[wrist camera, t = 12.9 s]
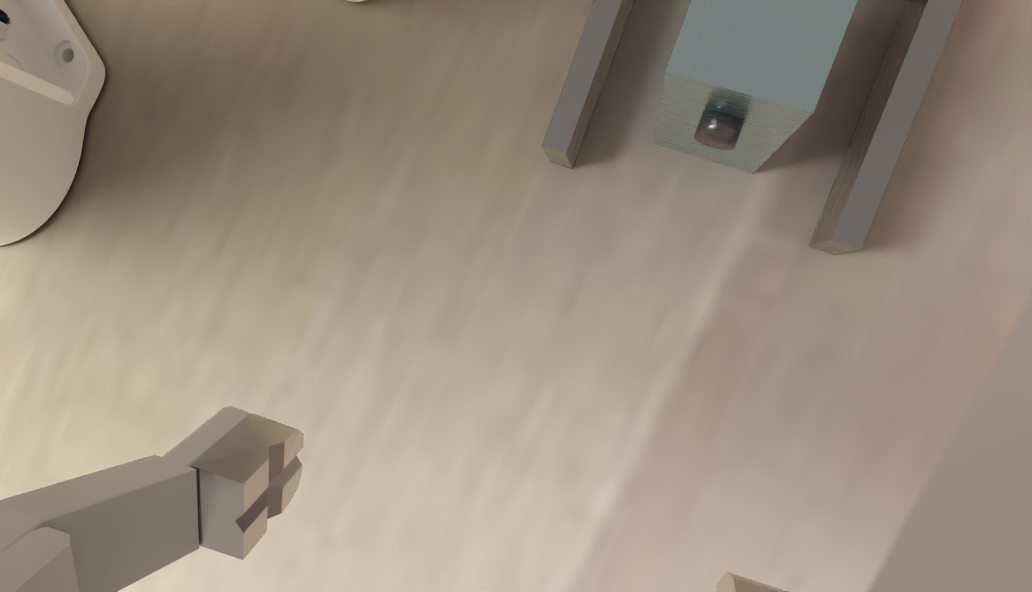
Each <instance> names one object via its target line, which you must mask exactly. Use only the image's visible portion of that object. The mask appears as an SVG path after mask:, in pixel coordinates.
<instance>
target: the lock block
mask: <svg viewBox="0 0 1032 592" xmlns="http://www.w3.org/2000/svg"><path fill="white" fill-rule="evenodd" d="M857 1H858V0H691V3H690V5H689V8H688V11H687V14H686V16H685V19H684V22H683V24H682V27H681V30H680V32H679V35H678V38H677V40H676V43H675V46H674V48H673V51H672V54H671V56H670V59H669V62H668V64H667V67H666V70H665V74H664V80H663V87H662V93H661V99H660V105H659V112H658V118H657V124H656V130H655V137H654V143H655V144H658V145H661V146H664V147H668V148H671V149H674V150H677V151H681V152H684V153H687V154H690V155H694V156H697V157H700V158H703V159H707V160H710V161H713V162H716V163H720V164H723V165H726V166H729V167H733V168H736V169H739V170H743V171H746V172H749V173H752V174H753V173H754V172H755V171H756V170H757V169H758V168H759V167H760V166H761V165H762V164H763V163H764V162H765V161H766V160H767V159H768V158H769V157H770V156H771V155H772V154H773V153H774V152H775V151H776V150H777V149H778V148H779V147H780V146H781V145H782V144H783V143H784V142H785V141H786V140H787V139H788V138H789V137H790V136H791V135H792V134H793V133H794V132H795V131H796V130H797V129H798V128H799V127H800V126H801V125H802V124H803V123H804V122H805V121H806V120H807V119H808V118H809V117H810V116H811V115H812V114H813V113H814V110H815V108H816V105H817V103H818V100H819V98H820V95H821V93H822V90H823V88H824V85H825V83H826V80H827V77H828V75H829V72H830V70H831V67H832V65H833V62H834V60H835V57H836V55H837V52H838V50H839V47H840V44H841V42H842V39H843V37H844V34H845V32H846V29H847V27H848V24H849V22H850V19H851V16H852V14H853V11H854V9H855V6H856V4H857Z"/></svg>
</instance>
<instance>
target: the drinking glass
mask: <svg viewBox="0 0 1032 592" xmlns="http://www.w3.org/2000/svg"><path fill="white" fill-rule="evenodd" d="M346 1H351V2H361V1H366V0H346Z"/></svg>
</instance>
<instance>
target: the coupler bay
mask: <svg viewBox="0 0 1032 592" xmlns="http://www.w3.org/2000/svg"><path fill="white" fill-rule="evenodd" d="M962 1H963V0H907V3H906V6H905V8H904V11H903V13H902V16H901V18H900V21H899V23H898V26H897V28H896V31H895V33H894V36H893V38H892V41H891V43H890V46H889V48H888V51H887V53H886V56H885V58H884V61H883V63H882V66H881V68H880V71H879V73H878V76H877V78H876V81H875V83H874V86H873V88H872V91H871V93H870V96H869V98H868V101H867V103H866V106H865V108H864V111H863V113H862V116H861V118H860V121H859V123H858V126H857V128H856V131H855V133H854V136H853V138H852V141H851V143H850V145H849V148H848V150H847V153H846V155H845V158H844V160H843V163H842V165H841V168H840V170H839V173H838V175H837V178H836V180H835V183H834V185H833V188H832V190H831V193H830V195H829V198H828V200H827V203H826V205H825V208H824V210H823V213H822V215H821V218H820V220H819V223H818V225H817V228H816V230H815V233H814V235H813V238H812V240H811V243H810V245H809V246H810V247H813V248H816V249H819V250H822V251H825V252H828V253H831V254H834V255H836V254H841V253H846V252H850V251H855V250H860V249H861V248H862V246H863V243H864V241H865V239H866V236H867V234H868V231H869V229H870V226H871V224H872V221H873V219H874V216H875V214H876V212H877V209H878V207H879V204H880V202H881V199H882V197H883V194H884V192H885V190H886V187H887V185H888V182H889V180H890V177H891V175H892V172H893V170H894V167H895V165H896V163H897V160H898V158H899V155H900V153H901V150H902V148H903V145H904V143H905V140H906V138H907V136H908V133H909V131H910V128H911V126H912V123H913V121H914V118H915V116H916V114H917V111H918V109H919V106H920V104H921V101H922V99H923V96H924V94H925V91H926V89H927V87H928V84H929V82H930V79H931V77H932V74H933V72H934V69H935V67H936V64H937V62H938V60H939V57H940V55H941V52H942V50H943V47H944V45H945V42H946V40H947V38H948V35H949V33H950V30H951V28H952V25H953V23H954V20H955V18H956V15H957V13H958V11H959V8H960V6H961V3H962ZM633 2H634V0H595V1H594V3H593V6H592V9H591V12H590V14H589V17H588V20H587V23H586V25H585V28H584V31H583V34H582V37H581V39H580V42H579V45H578V48H577V50H576V53H575V56H574V59H573V61H572V64H571V67H570V70H569V72H568V75H567V78H566V81H565V83H564V86H563V89H562V92H561V94H560V97H559V100H558V103H557V105H556V108H555V111H554V114H553V116H552V119H551V122H550V125H549V127H548V130H547V133H546V136H545V138H544V141H543V144H542V148H543V149H544V151H545V153H546V155H547V156H548V158H549V160H550V162H553V163H556V164H559V165H562V166H565V167H568V168H571V169H572V168H573V165H574V163H575V160H576V157H577V155H578V152H579V149H580V146H581V144H582V141H583V138H584V135H585V133H586V130H587V127H588V125H589V122H590V119H591V116H592V114H593V111H594V108H595V106H596V103H597V100H598V97H599V95H600V92H601V89H602V87H603V84H604V81H605V78H606V76H607V73H608V70H609V67H610V65H611V62H612V59H613V57H614V54H615V51H616V48H617V46H618V43H619V40H620V38H621V35H622V32H623V29H624V27H625V24H626V21H627V19H628V16H629V13H630V10H631V8H632V5H633Z"/></svg>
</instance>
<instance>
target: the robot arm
mask: <svg viewBox="0 0 1032 592" xmlns="http://www.w3.org/2000/svg"><path fill="white" fill-rule="evenodd" d="M104 79H105V67H104V64H103V62H102V60H101V58H100V57H99V55H98V54H97V52H96V50H95V49H94V47H93V46H92V44H91V42H90V41H89V39H88V38H87V36H86V35H85V33H84V31H83V30H82V28H81V27H80V25H79V23H78V22H77V20H76V19H75V17H74V16H73V14H72V12H71V11H70V9H69V8H68V6H67V4H66V3H65V1H64V0H0V246H1V245H6V244H9V243H12V242H15V241H18V240H20V239H22V238H24V237H26V236H27V235H29V234H31V233H32V232H34V231H35V230H36V229H38V228H39V227H40V226H41V225H42V224H43V223H45V222H46V221H47V219H48V218H49V217H50V216H51V215H52V214H53V213H54V212H55V210H56V209H57V208H58V206H59V205H60V204H61V202H62V200H63V199H64V197H65V195H66V194H67V192H68V190H69V188H70V186H71V184H72V181H73V179H74V176H75V174H76V171H77V168H78V164H79V160H80V156H81V151H82V145H83V138H84V131H85V126H86V121H87V117H88V114H89V113H90V111H91V109H92V107H93V105H94V103H95V101H96V99H97V97H98V95H99V93H100V91H101V88H102V86H103V83H104ZM303 435H304V434H303V433H302V432H301V431H300V430H297V429H294V428H292V427H289V426H286V425H283V424H281V423H278V422H275V421H272V420H270V419H267V418H264V417H261V416H259V415H256V414H251V413H249V412H246V411H243V410H240V409H238V408H235V407H232V406H230V407H226V408H223V409H221V410H220V411H219V412H218V413H216V414H215V415H214V416H213V417H211V418H210V419H209V420H208V421H206V422H205V423H204V424H203V425H201V426H200V427H199V428H198V429H196V430H195V431H194V432H193V433H191V434H190V435H189V436H188V437H186V438H185V439H184V440H183V441H182V442H180V443H179V444H178V445H177V446H175V447H174V448H173V449H172V450H170V451H169V452H168V453H167V454H165V455H164V456H163V457H160V456H157V455H152V456H149V457H146V458H142V459H139V460H135V461H132V462H129V463H125V464H122V465H118V466H115V467H112V468H108V469H105V470H101V471H98V472H95V473H91V474H88V475H84V476H81V477H78V478H74V479H71V480H67V481H64V482H61V483H57V484H54V485H50V486H47V487H44V488H40V489H37V490H34V491H30V492H27V493H23V494H20V495H17V496H13V497H10V498H6V499H3V500H0V592H117V591H119V590H121V589H123V588H125V587H127V586H128V585H130V584H132V583H134V582H136V581H138V580H140V579H142V578H144V577H146V576H147V575H149V574H151V573H153V572H155V571H157V570H159V569H161V568H163V567H165V566H166V565H168V564H170V563H172V562H174V561H176V560H178V559H180V558H182V557H184V556H185V555H187V554H189V553H191V552H193V551H195V550H197V549H199V546H203V547H206V548H209V549H212V550H215V551H218V552H221V553H224V554H227V555H230V556H233V557H236V558H239V559H242V560H243V559H244V558H245V557H246V556H247V555H248V553H249V552H250V551H251V550H252V548H253V547H254V546H255V545H256V544H257V542H258V541H259V540H260V539H261V537H262V536H263V535H264V534H265V533H266V531H267V519H269V518H271V517H273V516H276V515H278V514H281V513H282V512H283V510H284V509H285V508H286V506H287V505H288V504H289V503H290V501H291V499H292V497H293V495H294V493H295V492H296V490H297V488H298V485H299V481H300V478H301V471H302V464H301V462H300V461H299V459H298V457H297V456H296V455H297V454H298V453H299V451H300V450H301V449H302V448H303ZM717 592H788V591H783V590H782V589H779V588H775V587H772V586H769V585H766V584H763V583H760V582H757V581H754V580H751V579H747V578H744V577H741V576H738V575H735V574H732V573H729V572H727V573H726V574H724V575H723V576H722V577H721V579H720V581H719V582H718V584H717Z"/></svg>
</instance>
